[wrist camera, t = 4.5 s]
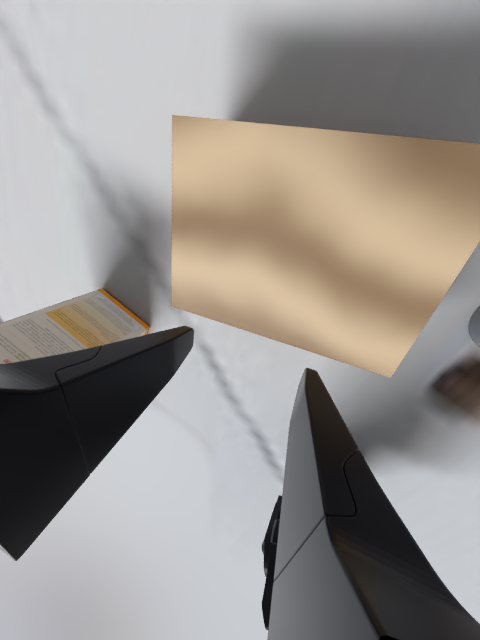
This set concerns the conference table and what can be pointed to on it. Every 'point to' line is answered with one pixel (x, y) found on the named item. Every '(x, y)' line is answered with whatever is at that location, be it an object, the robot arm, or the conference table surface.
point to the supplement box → (68, 328)
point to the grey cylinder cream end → (475, 327)
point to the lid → (320, 233)
